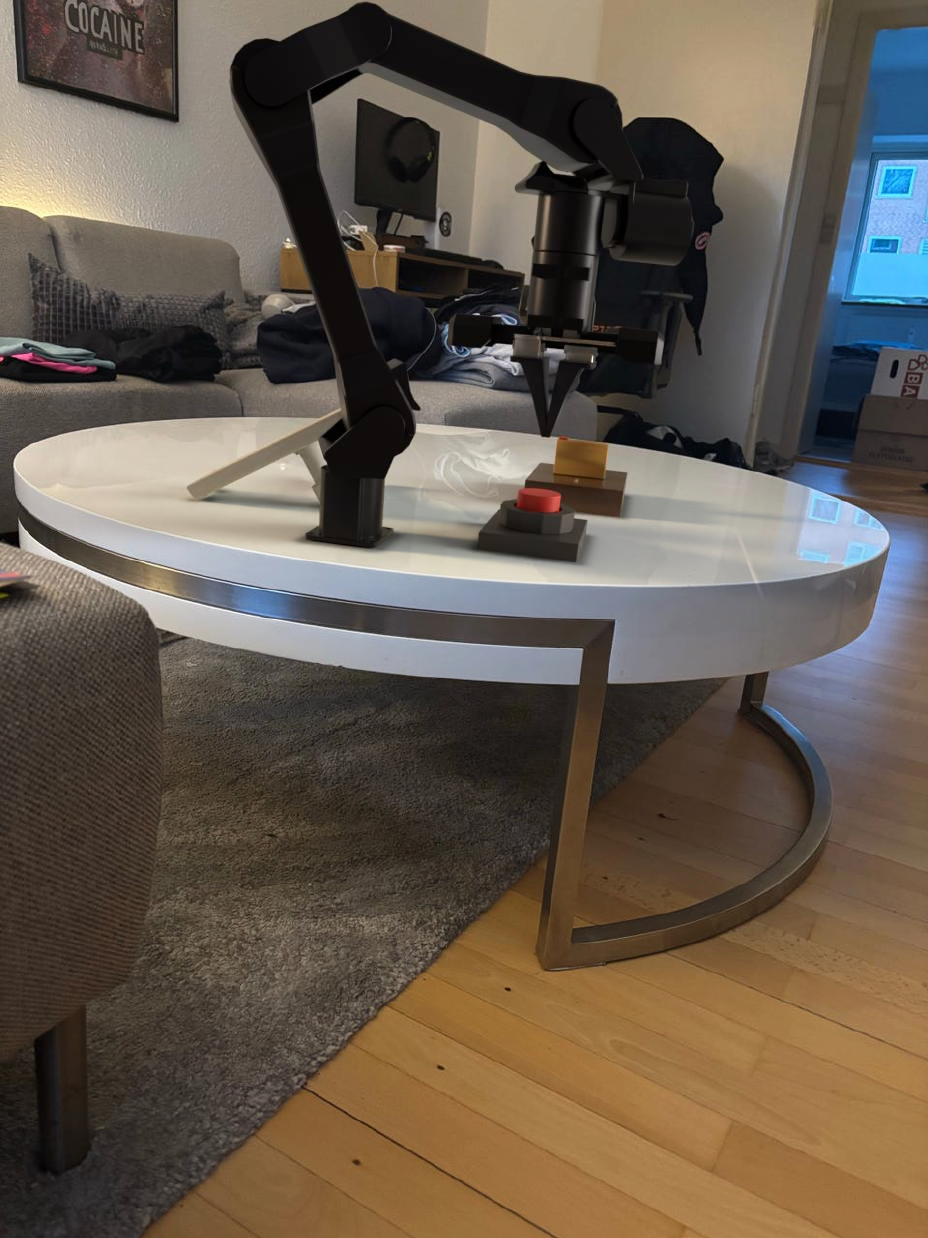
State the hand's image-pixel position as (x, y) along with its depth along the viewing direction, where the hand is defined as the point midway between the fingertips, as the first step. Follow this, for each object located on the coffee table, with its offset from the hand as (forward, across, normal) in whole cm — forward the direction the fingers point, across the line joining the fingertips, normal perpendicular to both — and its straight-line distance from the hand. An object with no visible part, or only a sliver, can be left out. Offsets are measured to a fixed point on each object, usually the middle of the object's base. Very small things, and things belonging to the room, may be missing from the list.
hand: (545, 436), depth 84 cm
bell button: (+7, 0, 0) cm, 7 cm away
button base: (+10, 0, 0) cm, 10 cm away
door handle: (+10, +28, -9) cm, 31 cm away
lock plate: (+10, -2, -24) cm, 26 cm away
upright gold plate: (+7, -2, -24) cm, 25 cm away
